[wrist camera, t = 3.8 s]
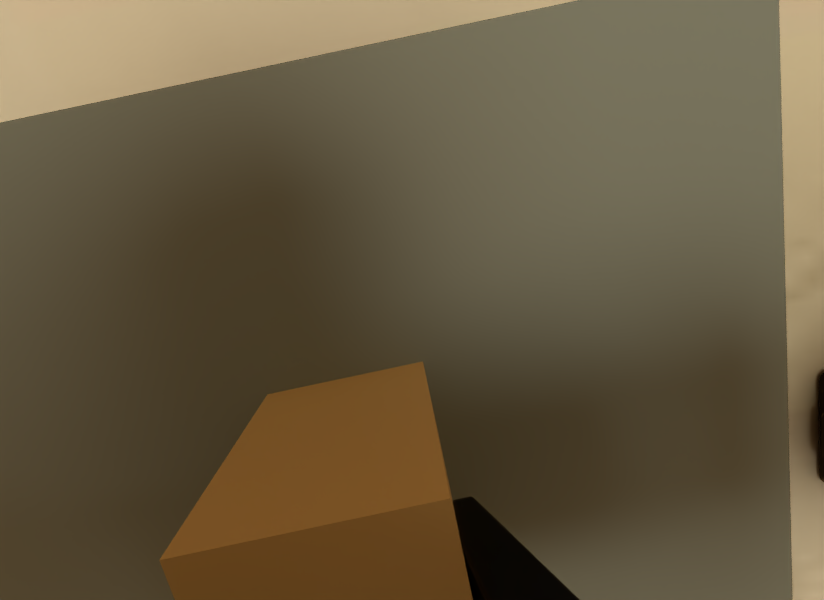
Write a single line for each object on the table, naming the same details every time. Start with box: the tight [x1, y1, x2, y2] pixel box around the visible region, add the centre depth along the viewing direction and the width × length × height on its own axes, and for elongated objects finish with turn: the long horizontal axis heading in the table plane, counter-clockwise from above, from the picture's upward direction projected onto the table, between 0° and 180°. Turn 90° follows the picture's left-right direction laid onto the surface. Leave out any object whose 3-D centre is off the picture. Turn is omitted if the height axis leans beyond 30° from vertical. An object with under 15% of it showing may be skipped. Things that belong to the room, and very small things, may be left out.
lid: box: [0, 0, 792, 600], centre depth 8 cm, size 17×17×5 cm
